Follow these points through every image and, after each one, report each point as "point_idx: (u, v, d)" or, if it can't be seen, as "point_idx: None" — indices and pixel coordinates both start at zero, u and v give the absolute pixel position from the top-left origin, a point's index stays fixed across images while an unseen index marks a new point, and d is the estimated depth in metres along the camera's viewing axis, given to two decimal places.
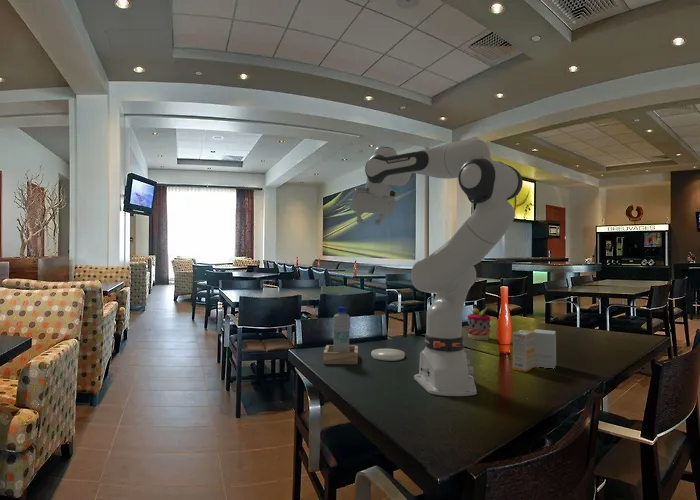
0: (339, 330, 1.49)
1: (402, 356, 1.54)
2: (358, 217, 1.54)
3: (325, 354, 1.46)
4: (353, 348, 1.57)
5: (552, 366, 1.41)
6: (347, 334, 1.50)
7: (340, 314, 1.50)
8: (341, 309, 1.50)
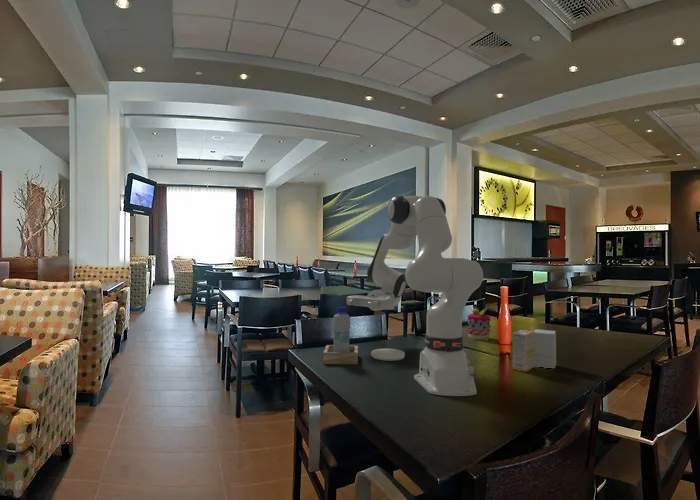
0: (339, 330, 1.49)
1: (402, 356, 1.54)
2: None
3: (325, 354, 1.46)
4: (353, 348, 1.57)
5: (552, 366, 1.41)
6: (347, 334, 1.50)
7: (340, 314, 1.50)
8: (341, 309, 1.50)
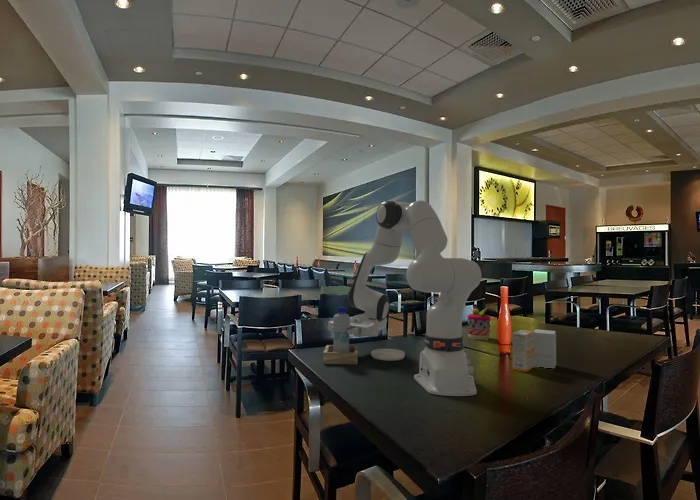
0: (339, 330, 1.49)
1: (402, 356, 1.54)
2: None
3: (325, 354, 1.46)
4: (353, 348, 1.57)
5: (552, 366, 1.41)
6: (347, 334, 1.50)
7: (340, 314, 1.50)
8: (341, 309, 1.50)
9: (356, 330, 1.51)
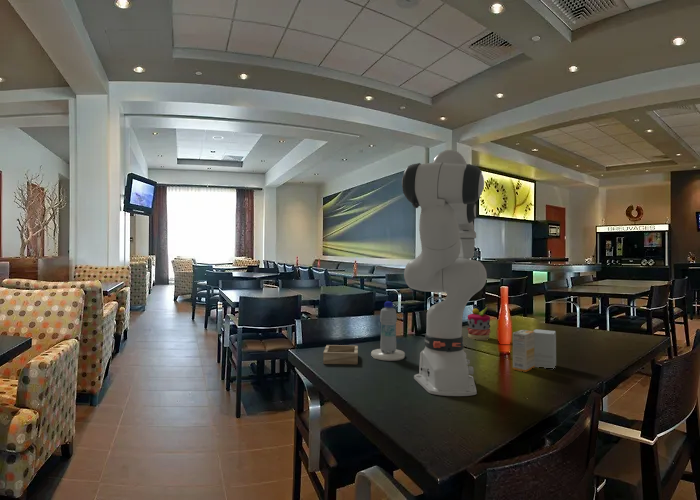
0: (384, 323, 1.55)
1: (402, 356, 1.54)
2: None
3: (325, 354, 1.46)
4: (353, 348, 1.57)
5: (552, 366, 1.41)
6: (392, 328, 1.55)
7: (385, 308, 1.56)
8: (386, 303, 1.56)
9: None
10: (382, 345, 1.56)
